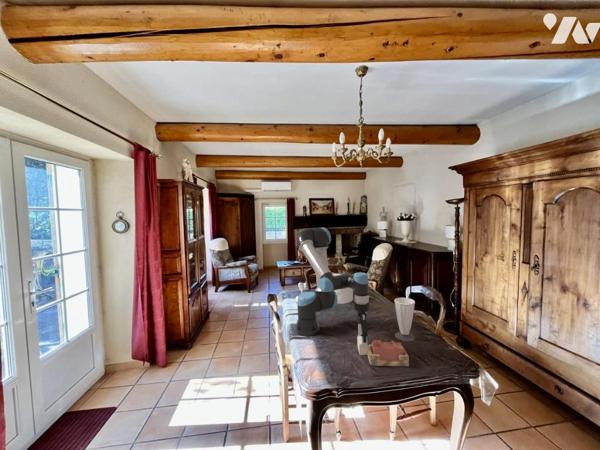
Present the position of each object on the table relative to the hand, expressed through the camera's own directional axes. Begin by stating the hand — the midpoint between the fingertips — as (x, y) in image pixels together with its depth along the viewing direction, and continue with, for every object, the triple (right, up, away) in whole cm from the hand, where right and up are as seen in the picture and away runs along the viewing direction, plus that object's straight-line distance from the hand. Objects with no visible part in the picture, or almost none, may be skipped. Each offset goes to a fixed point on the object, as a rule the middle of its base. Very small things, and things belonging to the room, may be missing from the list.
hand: (362, 341), depth 140 cm
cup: (+28, -4, +14) cm, 32 cm away
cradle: (+10, -5, -9) cm, 14 cm away
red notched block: (+10, -4, -9) cm, 14 cm away
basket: (0, -1, +84) cm, 84 cm away
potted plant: (-31, -3, +61) cm, 69 cm away
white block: (0, -5, +1) cm, 5 cm away
